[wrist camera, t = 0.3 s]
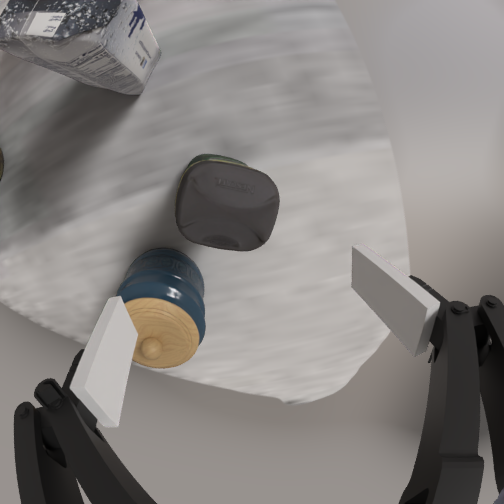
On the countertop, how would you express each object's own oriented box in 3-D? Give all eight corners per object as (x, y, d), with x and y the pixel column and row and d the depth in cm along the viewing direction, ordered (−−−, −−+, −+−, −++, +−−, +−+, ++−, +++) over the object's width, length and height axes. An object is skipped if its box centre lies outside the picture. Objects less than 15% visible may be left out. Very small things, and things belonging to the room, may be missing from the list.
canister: (216, 263, 44) (225, 333, 28) (188, 323, 47) (187, 400, 31) (140, 233, 40) (106, 291, 24) (120, 299, 43) (92, 371, 27)
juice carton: (145, 102, 33) (51, 45, 8) (87, 87, 29) (-34, 47, 5) (171, 50, 30) (131, -63, 5) (112, 37, 27) (27, -48, 2)
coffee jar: (180, 201, 39) (162, 247, 22) (191, 149, 37) (179, 153, 20) (243, 213, 42) (271, 265, 25) (256, 163, 39) (296, 179, 22)
